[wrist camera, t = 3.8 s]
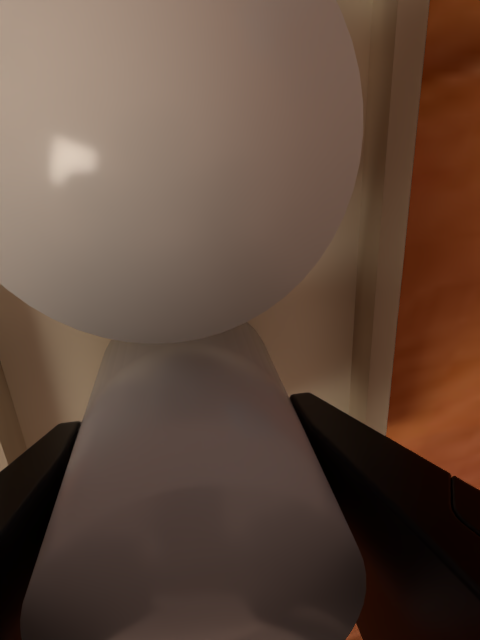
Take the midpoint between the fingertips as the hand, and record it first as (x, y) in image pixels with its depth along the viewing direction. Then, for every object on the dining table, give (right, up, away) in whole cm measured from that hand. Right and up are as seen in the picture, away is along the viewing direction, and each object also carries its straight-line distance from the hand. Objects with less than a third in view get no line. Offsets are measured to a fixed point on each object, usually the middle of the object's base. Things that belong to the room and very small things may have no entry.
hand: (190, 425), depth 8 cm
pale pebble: (-1, +6, 0) cm, 6 cm away
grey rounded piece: (0, +1, +2) cm, 2 cm away
